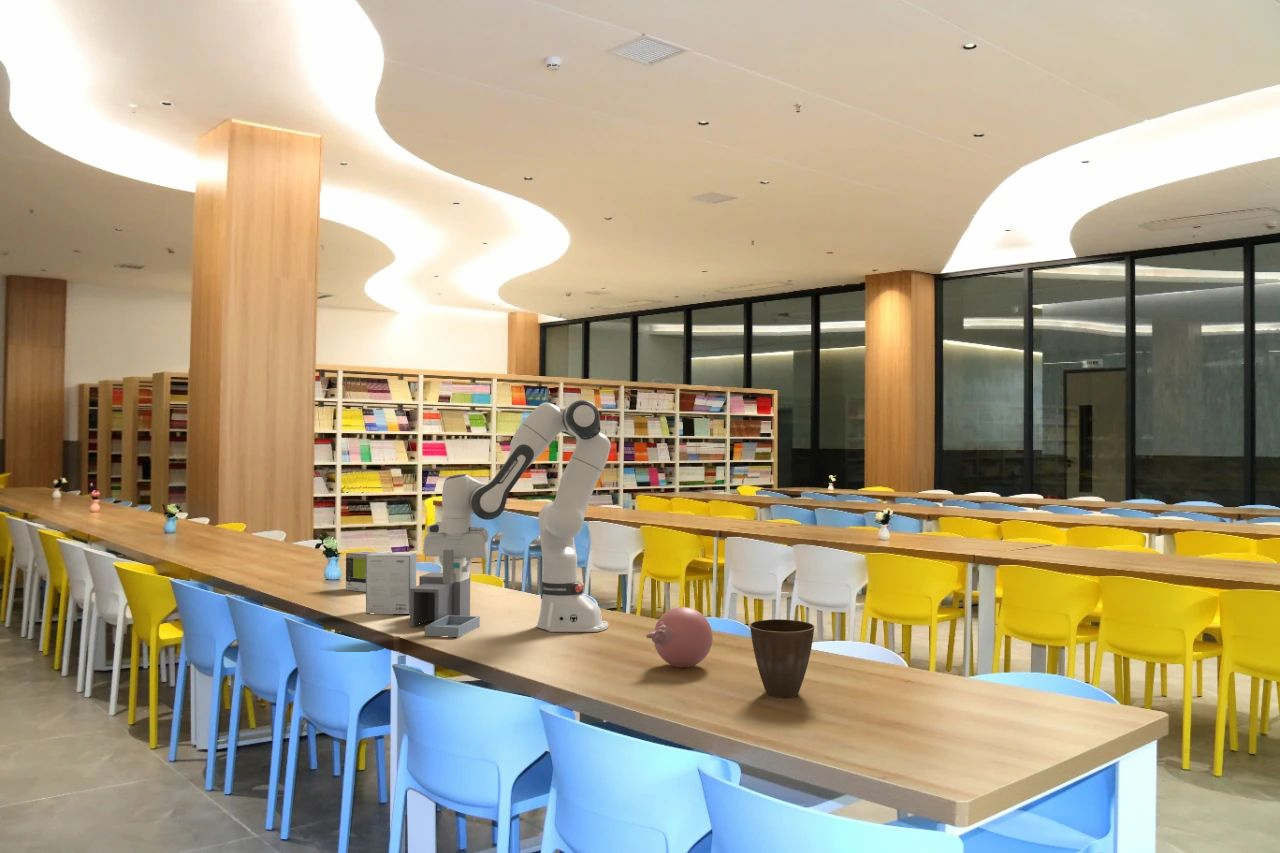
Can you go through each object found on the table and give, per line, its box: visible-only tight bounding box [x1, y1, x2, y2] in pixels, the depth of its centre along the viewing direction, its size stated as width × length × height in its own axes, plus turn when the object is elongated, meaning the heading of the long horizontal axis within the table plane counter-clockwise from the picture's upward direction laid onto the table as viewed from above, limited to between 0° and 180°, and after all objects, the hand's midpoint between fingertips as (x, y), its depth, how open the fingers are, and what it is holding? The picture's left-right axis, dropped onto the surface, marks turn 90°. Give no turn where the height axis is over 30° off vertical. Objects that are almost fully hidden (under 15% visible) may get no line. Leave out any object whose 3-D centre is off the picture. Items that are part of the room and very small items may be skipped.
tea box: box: [345, 550, 390, 593], centre depth 384 cm, size 15×10×15 cm
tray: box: [424, 615, 481, 638], centre depth 303 cm, size 11×19×3 cm, turn 170°
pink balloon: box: [645, 606, 714, 668], centre depth 257 cm, size 15×20×15 cm
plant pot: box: [749, 618, 815, 699], centre depth 231 cm, size 15×15×16 cm
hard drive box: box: [365, 552, 417, 615], centre depth 335 cm, size 16×8×20 cm, turn 84°
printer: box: [409, 572, 471, 627], centre depth 320 cm, size 14×22×14 cm, turn 170°
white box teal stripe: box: [442, 550, 471, 584], centre depth 304 cm, size 5×13×10 cm, turn 170°
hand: (455, 571), depth 306 cm, fingers closed on white box teal stripe, 5 cm apart
